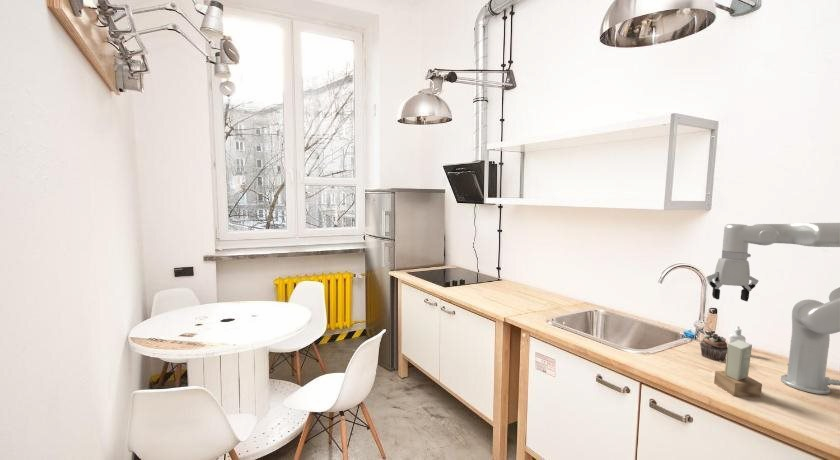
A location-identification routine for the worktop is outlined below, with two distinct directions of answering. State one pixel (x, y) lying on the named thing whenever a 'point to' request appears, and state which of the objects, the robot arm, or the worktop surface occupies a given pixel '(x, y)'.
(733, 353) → the skincare box
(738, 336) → the eye dropper bottle
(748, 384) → the block
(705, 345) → the cupcake
